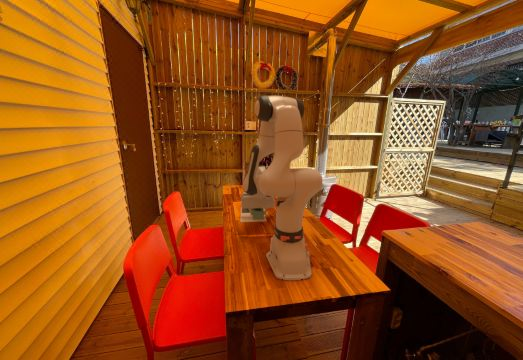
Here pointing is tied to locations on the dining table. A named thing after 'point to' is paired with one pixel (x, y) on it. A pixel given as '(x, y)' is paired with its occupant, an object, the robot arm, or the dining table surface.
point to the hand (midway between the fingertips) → (258, 214)
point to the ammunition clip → (281, 200)
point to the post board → (249, 216)
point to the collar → (258, 213)
